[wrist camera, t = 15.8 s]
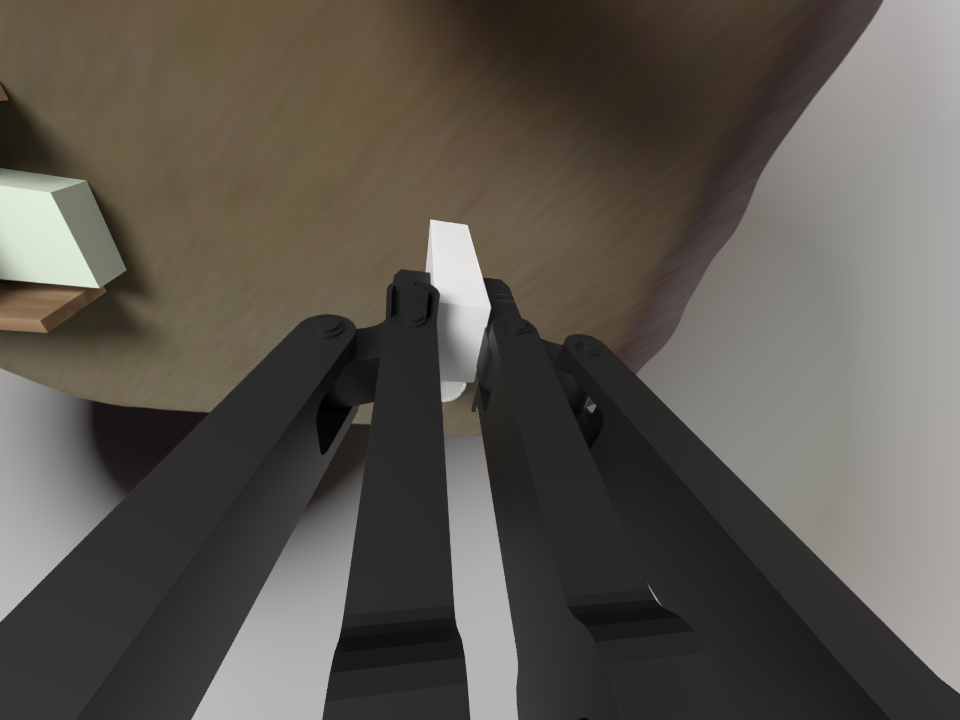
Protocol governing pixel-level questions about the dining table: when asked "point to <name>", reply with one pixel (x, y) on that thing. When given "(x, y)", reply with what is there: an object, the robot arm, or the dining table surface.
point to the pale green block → (54, 232)
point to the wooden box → (40, 300)
